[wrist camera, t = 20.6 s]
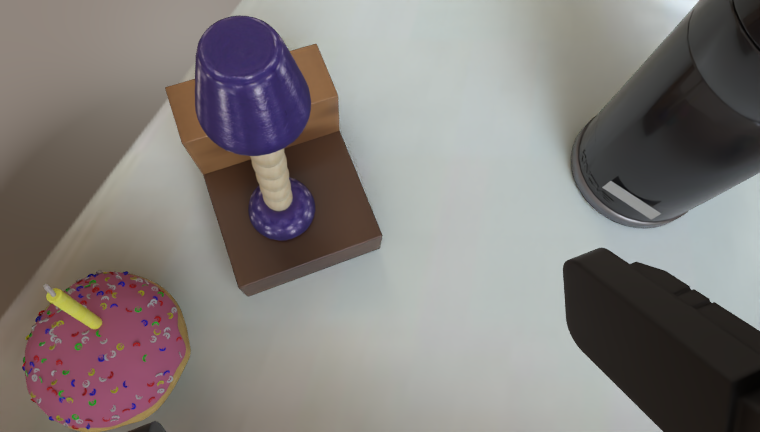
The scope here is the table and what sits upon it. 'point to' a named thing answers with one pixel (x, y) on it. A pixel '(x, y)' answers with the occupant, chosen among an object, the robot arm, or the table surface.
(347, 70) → the table surface
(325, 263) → the tiered shelf
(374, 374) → the table surface
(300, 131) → the toy lamp
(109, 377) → the cupcake
